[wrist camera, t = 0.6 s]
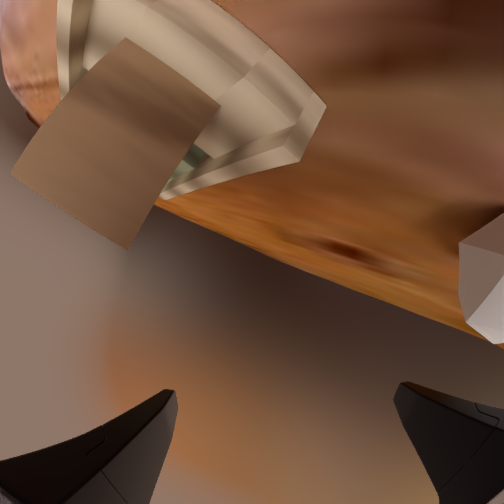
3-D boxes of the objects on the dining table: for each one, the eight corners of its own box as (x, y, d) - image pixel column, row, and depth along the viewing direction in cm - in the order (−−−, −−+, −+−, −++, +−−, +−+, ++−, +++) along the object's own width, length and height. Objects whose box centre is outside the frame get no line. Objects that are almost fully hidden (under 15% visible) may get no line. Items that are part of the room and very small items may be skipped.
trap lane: (124, -48, 6) (34, 7, 5) (327, 106, 14) (287, 185, 13) (89, 105, 25) (58, 144, 24) (183, 170, 33) (158, 210, 32)
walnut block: (125, 37, 10) (10, 174, 8) (221, 105, 14) (127, 250, 12) (110, 85, 15) (33, 190, 13) (183, 135, 18) (115, 243, 17)
